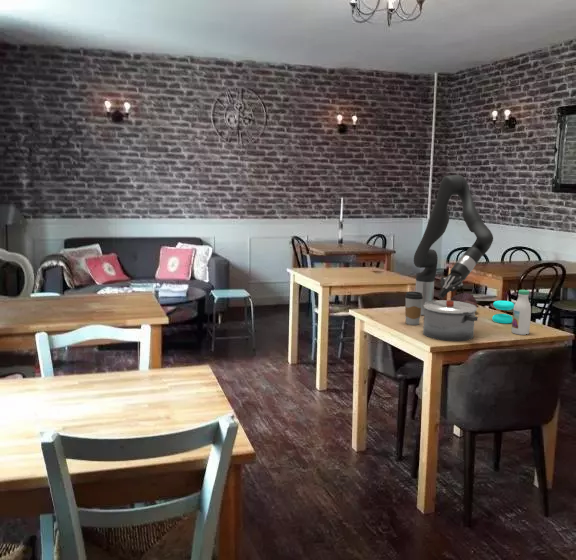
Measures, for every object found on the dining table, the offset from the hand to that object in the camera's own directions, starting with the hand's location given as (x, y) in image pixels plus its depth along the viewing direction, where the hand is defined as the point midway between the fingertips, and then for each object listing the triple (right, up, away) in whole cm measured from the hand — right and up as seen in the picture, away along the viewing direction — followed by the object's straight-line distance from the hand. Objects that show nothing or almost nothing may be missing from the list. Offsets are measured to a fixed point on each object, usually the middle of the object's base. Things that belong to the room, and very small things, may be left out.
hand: (440, 296), depth 286 cm
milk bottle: (+39, -17, +12) cm, 45 cm away
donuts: (+39, -14, +34) cm, 53 cm away
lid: (+5, -6, +4) cm, 8 cm away
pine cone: (+26, -10, +56) cm, 62 cm away
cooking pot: (+5, -17, +6) cm, 19 cm away
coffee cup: (-8, -14, +25) cm, 30 cm away
